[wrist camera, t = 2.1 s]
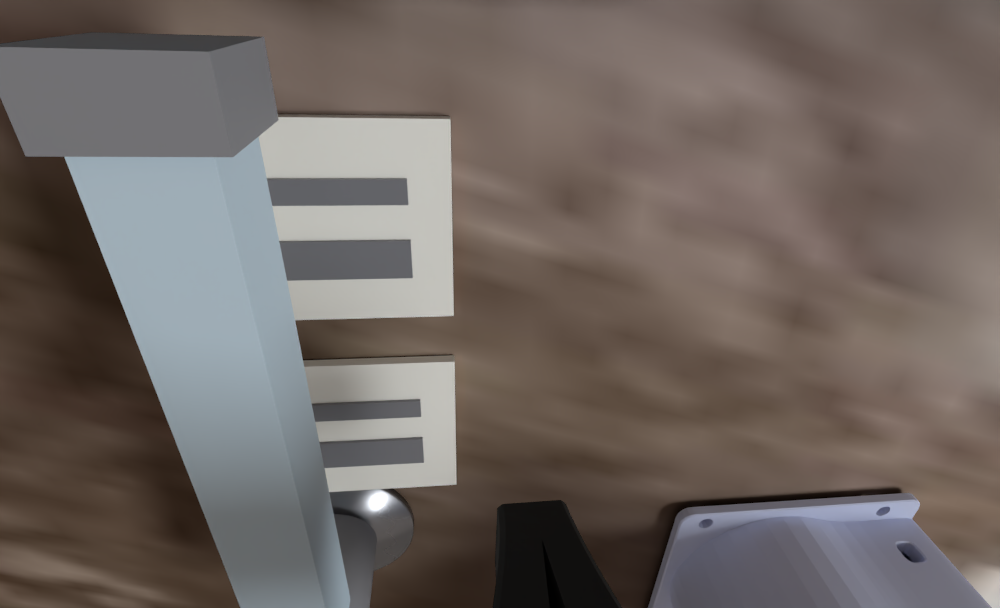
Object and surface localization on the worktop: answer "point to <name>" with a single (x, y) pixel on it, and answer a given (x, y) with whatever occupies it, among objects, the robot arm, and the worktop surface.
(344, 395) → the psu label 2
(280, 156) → the psu label
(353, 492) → the pivot base
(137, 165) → the bar
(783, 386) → the worktop surface
